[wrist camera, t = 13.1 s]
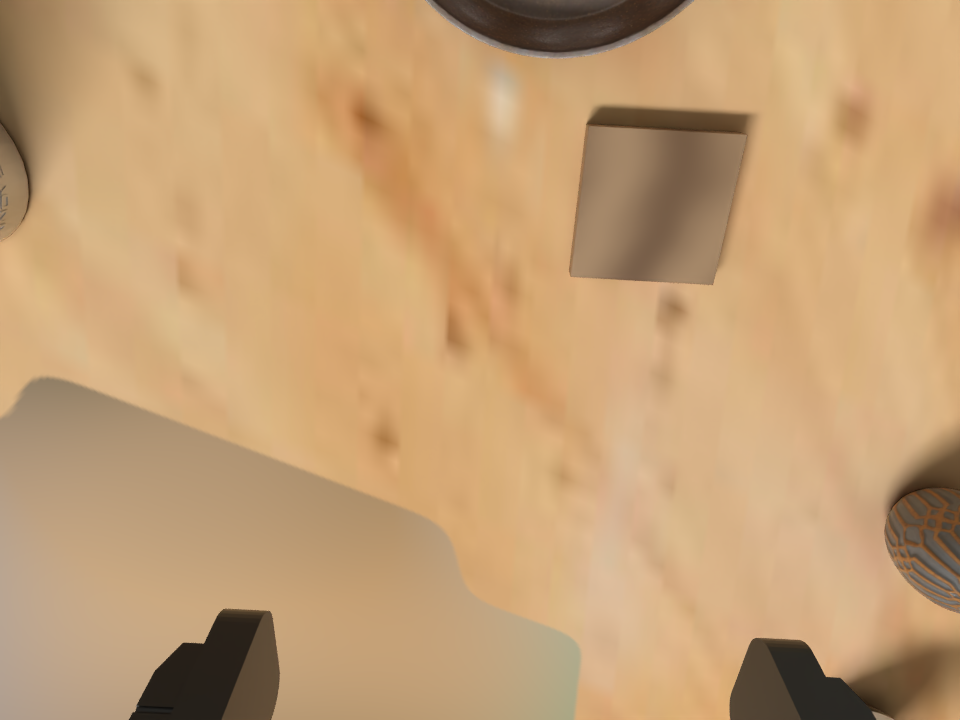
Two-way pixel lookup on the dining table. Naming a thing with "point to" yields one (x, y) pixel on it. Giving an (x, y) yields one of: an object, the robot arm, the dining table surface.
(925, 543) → the dark brown oval lump
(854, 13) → the dining table surface
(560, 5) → the brown shallow round tray
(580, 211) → the stand
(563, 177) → the dining table surface
